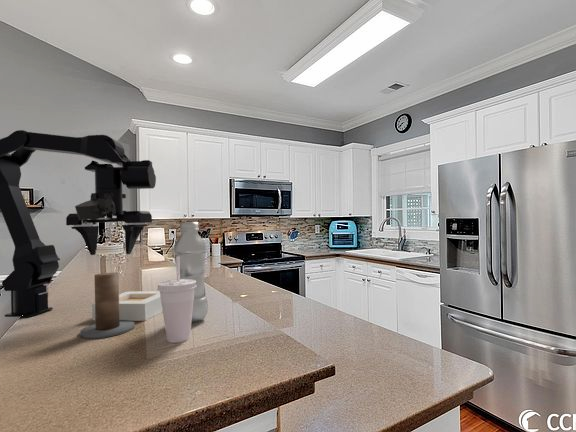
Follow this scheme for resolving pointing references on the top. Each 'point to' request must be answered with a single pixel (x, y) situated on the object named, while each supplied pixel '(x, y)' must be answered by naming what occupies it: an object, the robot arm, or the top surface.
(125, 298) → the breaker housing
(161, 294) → the smoothie
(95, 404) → the top surface
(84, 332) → the slate mat
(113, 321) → the brown cylindrical post
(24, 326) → the top surface
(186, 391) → the top surface
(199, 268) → the plastic bottle
